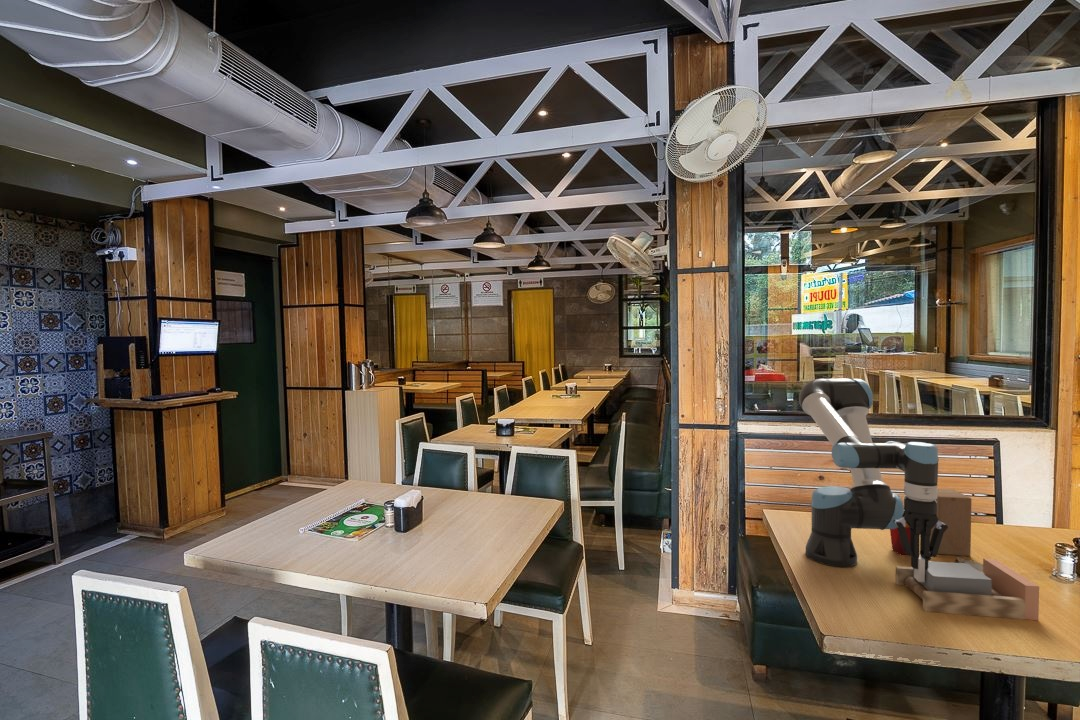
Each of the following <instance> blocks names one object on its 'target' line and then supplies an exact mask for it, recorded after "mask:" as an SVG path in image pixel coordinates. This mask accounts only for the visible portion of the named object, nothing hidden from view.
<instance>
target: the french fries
mask: <svg viewBox="0 0 1080 720" xmlns="http://www.w3.org/2000/svg"><path fill="white" fill-rule="evenodd" d="M905 529H906V532H907V536H908V540H909V543H910V527H909V526H908V524H907V523H906V522H905ZM889 532H890V541H891V549H893V550H892V551H894V552H895V551H896V552H895V553H897V552H898V553H897V554H898V555H900V554H901V555H900V556H902V555H907V554H906V553H905V552H904V551H903V548H902V544H901V540H900V536H899V533H898V529H897V528H895V529H889Z"/></svg>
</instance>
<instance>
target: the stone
mask: <svg viewBox="0 0 1080 720" xmlns="http://www.w3.org/2000/svg"><path fill="white" fill-rule="evenodd" d="M954 563H967V564H969V565H970V566H972V567H973V568H975V569H976V570H978V571H979V572H983V563H981V562H977V561H974V560H969V559H967V558H966V559H965V558H962V557H955V562H954Z"/></svg>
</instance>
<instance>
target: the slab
mask: <svg viewBox="0 0 1080 720" xmlns="http://www.w3.org/2000/svg"><path fill="white" fill-rule="evenodd" d="M913 577H914V568H913ZM918 582H919V581H918ZM920 583H921V584H922V585H923V586H924V587H925V588H926V589H927V590H928V591H935V592H949V593H963V594H977V595H991V591H992V580H991V579H990V578H988V577H987V576H985V575H984V574H982V573H981V572H979V571H978V570H976V569H975V568H973V567H972V566H970V565H969V564H967V563H955V562H947V561H946V562H945V561H931V560H928V569H927V570H925V582H920Z"/></svg>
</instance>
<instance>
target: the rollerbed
mask: <svg viewBox="0 0 1080 720" xmlns="http://www.w3.org/2000/svg"><path fill="white" fill-rule="evenodd" d="M981 573H982V574H984V575H985V576H986V573H984V572H981ZM894 574H895V575H894V577H895V578H894V579H895V581H894V582H895V584H897V585H898V586H907V587H908V589H910V590H911V591H912V592H914V594H915V595H917V596H918V597H919V599H921V600H922V609H923V611H925V612H929V613H938V614H939V613H940V614H955V615H966V616H967V615H968V616H981V617H994V618H1004V619H1016V620H1019V619H1020V620H1026V619H1025V600H1024V599H1022V598H1019V597H1005V596H1002V595H1001V594H999V593H998V592H997V591H995V590H994V589H992V591H991V595H977V594H963V593H949V592H935V591H929V590H928V589H927V588H925V587H924V586H923V585H922V584H921V583H920V582H918V581H917V580H916V579H915V578H914V577H913V567H912V566H897V565H895V573H894Z"/></svg>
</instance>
